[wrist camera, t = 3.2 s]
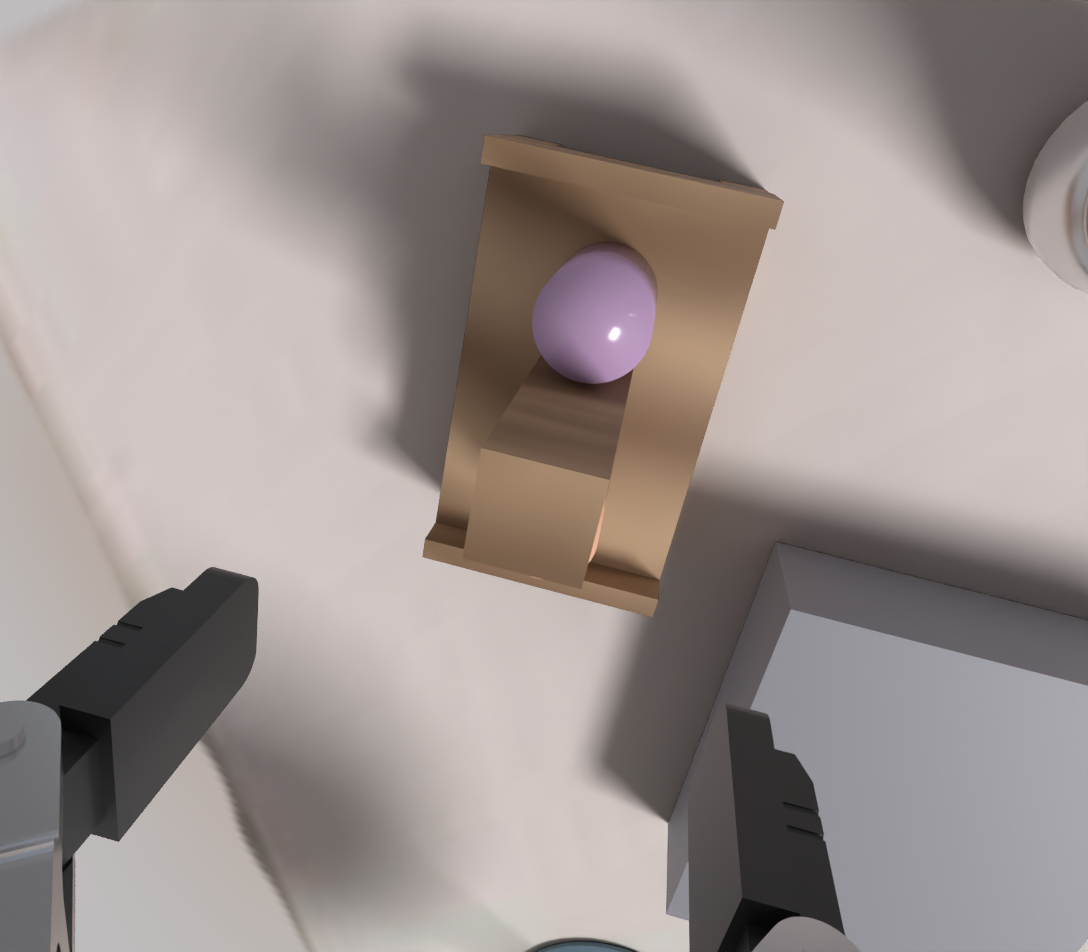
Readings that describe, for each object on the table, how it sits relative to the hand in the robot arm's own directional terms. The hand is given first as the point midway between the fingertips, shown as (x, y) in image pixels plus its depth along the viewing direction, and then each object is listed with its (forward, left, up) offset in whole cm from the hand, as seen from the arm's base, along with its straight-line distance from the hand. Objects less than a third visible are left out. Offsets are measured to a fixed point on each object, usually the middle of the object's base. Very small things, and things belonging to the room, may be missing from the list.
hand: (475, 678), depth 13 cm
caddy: (0, 0, -19) cm, 19 cm away
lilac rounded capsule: (-4, 0, -16) cm, 16 cm away
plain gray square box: (+14, +17, -19) cm, 29 cm away
